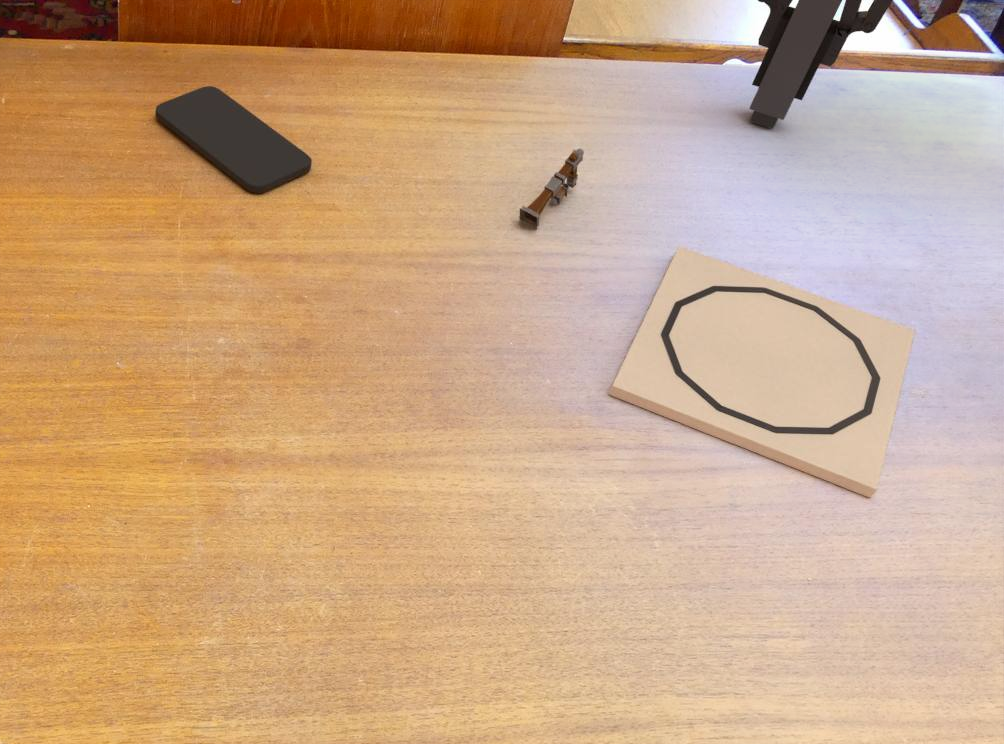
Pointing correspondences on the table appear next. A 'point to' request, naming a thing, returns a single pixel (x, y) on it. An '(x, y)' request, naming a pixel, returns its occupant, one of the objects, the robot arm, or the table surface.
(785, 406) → the sketch board
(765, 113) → the marker
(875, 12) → the robot arm
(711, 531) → the table surface
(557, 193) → the brown two-tone long part
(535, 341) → the table surface
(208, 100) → the phone
